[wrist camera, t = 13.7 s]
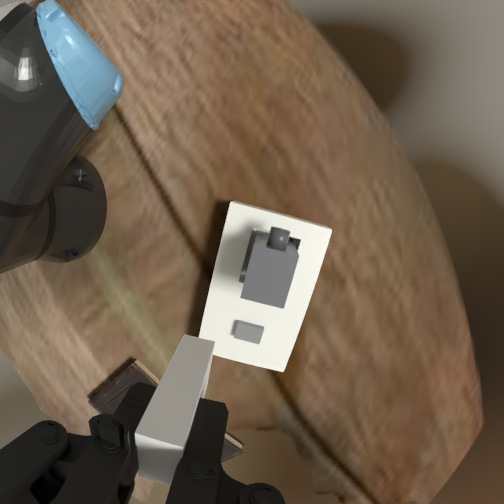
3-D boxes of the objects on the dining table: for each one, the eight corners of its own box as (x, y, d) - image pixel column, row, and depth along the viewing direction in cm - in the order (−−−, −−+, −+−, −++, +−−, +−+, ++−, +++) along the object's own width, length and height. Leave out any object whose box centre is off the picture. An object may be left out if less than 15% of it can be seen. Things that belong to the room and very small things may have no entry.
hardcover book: (138, 355, 40) (132, 362, 38) (245, 443, 43) (244, 452, 40) (92, 395, 43) (86, 403, 41) (185, 469, 46) (183, 478, 43)
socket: (202, 336, 38) (194, 352, 34) (234, 200, 34) (229, 202, 30) (282, 357, 38) (283, 375, 34) (326, 225, 34) (333, 230, 30)
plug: (247, 271, 35) (240, 298, 27) (261, 216, 34) (258, 225, 25) (280, 279, 35) (283, 308, 26) (295, 225, 34) (304, 238, 25)
